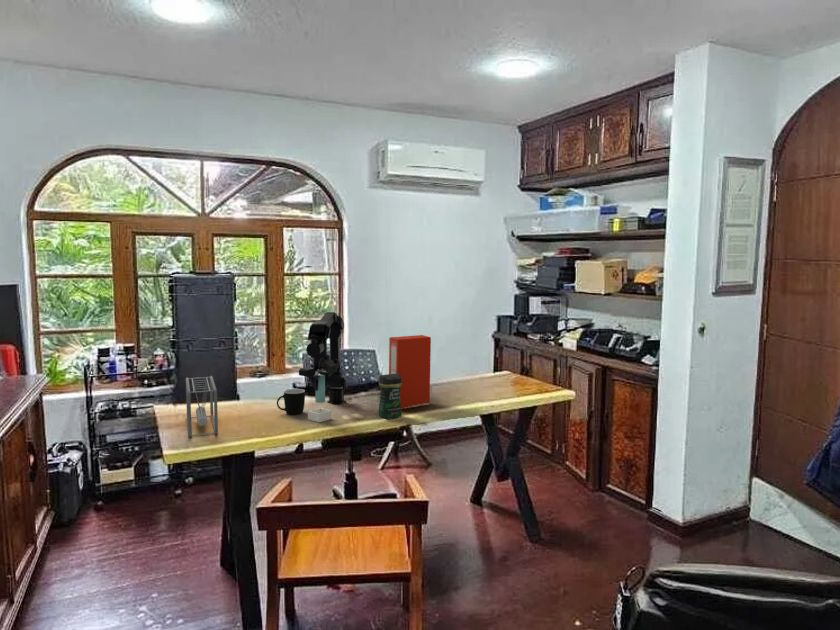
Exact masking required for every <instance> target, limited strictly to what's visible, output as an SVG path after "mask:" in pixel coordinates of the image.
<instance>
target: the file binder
mask: <svg viewBox="0 0 840 630" xmlns="http://www.w3.org/2000/svg"><path fill="white" fill-rule="evenodd" d="M388 339H389V342H388V343H389V345H388V346H389V347H388V350H389V351H388V374H399V375H401V378H402V385H401V388H400V400H401V408H404V407H408V406H412V405H417V404H423V403H429V402H430V401H431V399H430V398H431V397H430V396H431V391H430V390H431V352H432V350H431V349H432V348H431V347H432V346H431V344H432V341H431V336H427V335H423V334H418V335H407V336H406V335H404V336H391V337H389V338H388Z"/></svg>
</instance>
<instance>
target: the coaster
mask: <svg viewBox="0 0 840 630" xmlns="http://www.w3.org/2000/svg"><path fill="white" fill-rule="evenodd" d="M341 419H343V420H344V421H348V422H349V421H351V422H354V421H355V422H356V421H361V420H365V419H366V415H364V414H360V413H350V414H348V413H347V414H344V415H342V416H341Z"/></svg>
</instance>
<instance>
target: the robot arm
mask: <svg viewBox="0 0 840 630" xmlns="http://www.w3.org/2000/svg"><path fill="white" fill-rule="evenodd" d="M344 328H345V322H344V319H343V317H341V316H339V315H338V313H337V312H335V311H327V312H326V311H325V312H324V314H323V316H322V317H321V318H320V319H319V320H317V321H313V322H312V323H311V325H310V326H309V330H308V335H307V341H310V343H308V345H306V349H305V351H306V354H307V355H308V356H309V357H310V358H312V364H311V365H310V367H301V368H299V369H298V376H301V377H307V378H308V380H309V381H310V383H311V384H312V387H313V390H315V391H318V378H319V377H320V375H325V389H326V391H329V394H328V400H327V403H330V404H334V405H339V404H343V402H344V403H347V400H345V391H347V390H348V383H347V379H346V377H345V373H344V371H343V369H342V368H341V347H340V346H341V343H340V342H341V341H340V339H341V338H340V337H341V336H342V334H343V333H344ZM328 339H329V354H328V342H327V341H328Z"/></svg>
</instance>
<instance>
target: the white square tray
mask: <svg viewBox="0 0 840 630" xmlns="http://www.w3.org/2000/svg"><path fill="white" fill-rule="evenodd" d="M307 420H309V421H313V422H316V423H322V422H326V421H329V420H332V410H330V409H326V408H322V407H317V408H314V409H310V410H307Z"/></svg>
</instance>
